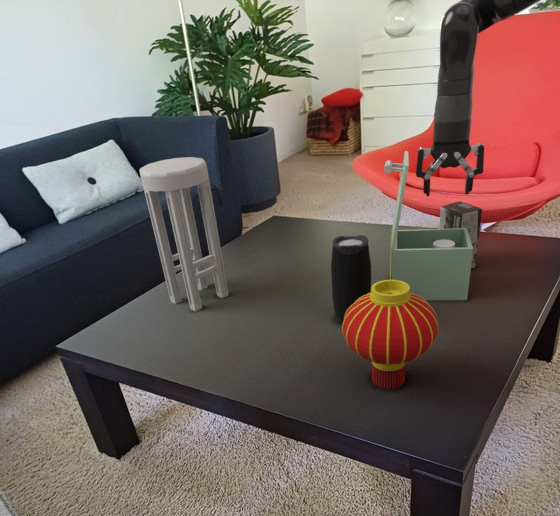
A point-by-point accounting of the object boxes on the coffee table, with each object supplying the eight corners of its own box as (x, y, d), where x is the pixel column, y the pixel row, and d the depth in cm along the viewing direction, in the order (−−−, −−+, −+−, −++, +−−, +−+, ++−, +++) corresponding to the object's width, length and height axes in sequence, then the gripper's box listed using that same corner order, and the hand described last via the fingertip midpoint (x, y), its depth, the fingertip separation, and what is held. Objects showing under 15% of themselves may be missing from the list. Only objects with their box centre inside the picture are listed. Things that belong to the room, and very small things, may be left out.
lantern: (394, 348, 112) (399, 208, 95) (453, 387, 99) (469, 232, 82) (327, 375, 106) (319, 231, 89) (380, 420, 93) (382, 261, 76)
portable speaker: (358, 332, 119) (357, 250, 108) (325, 322, 125) (321, 243, 114) (378, 316, 124) (379, 236, 113) (346, 307, 130) (343, 230, 119)
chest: (461, 277, 137) (467, 227, 130) (467, 301, 126) (473, 248, 119) (392, 278, 141) (393, 230, 133) (391, 301, 130) (392, 250, 122)
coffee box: (476, 268, 141) (483, 208, 132) (456, 273, 139) (462, 213, 130) (455, 257, 148) (460, 200, 139) (435, 262, 147) (440, 205, 138)
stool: (160, 302, 143) (126, 169, 123) (204, 282, 151) (179, 154, 132) (194, 318, 133) (163, 176, 113) (239, 295, 141) (218, 159, 122)
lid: (408, 151, 122) (386, 149, 123) (408, 165, 111) (385, 163, 112) (395, 228, 133) (375, 226, 134) (394, 248, 122) (373, 246, 123)
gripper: (418, 122, 109) (415, 201, 118) (490, 117, 106) (482, 197, 115) (417, 116, 115) (414, 191, 124) (486, 111, 112) (478, 188, 121)
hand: (447, 194), depth 120 cm, fingers open, 8 cm apart
